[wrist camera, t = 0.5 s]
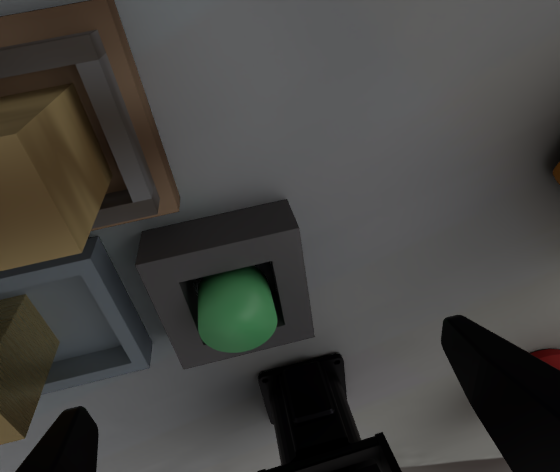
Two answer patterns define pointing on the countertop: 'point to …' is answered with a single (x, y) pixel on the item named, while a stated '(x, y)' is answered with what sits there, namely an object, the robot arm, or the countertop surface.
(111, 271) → the tray
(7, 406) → the block
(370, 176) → the countertop surface
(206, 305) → the button
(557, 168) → the coffee package
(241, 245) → the button base
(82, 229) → the pallet
